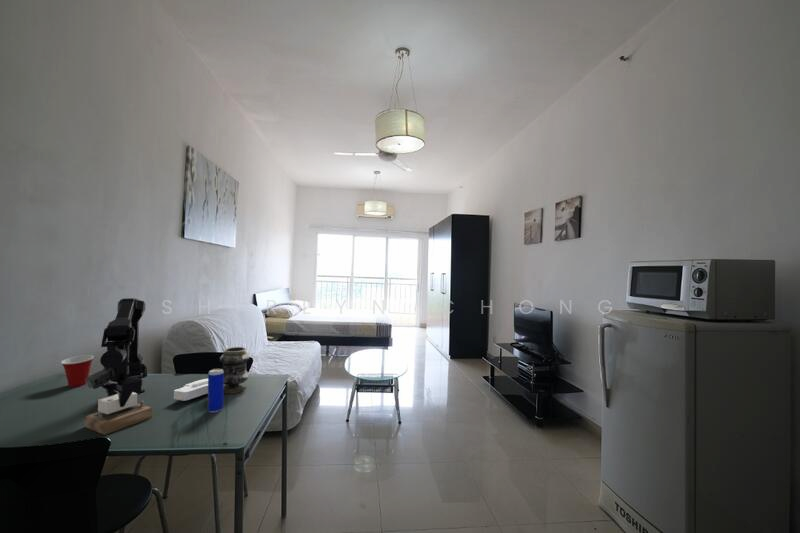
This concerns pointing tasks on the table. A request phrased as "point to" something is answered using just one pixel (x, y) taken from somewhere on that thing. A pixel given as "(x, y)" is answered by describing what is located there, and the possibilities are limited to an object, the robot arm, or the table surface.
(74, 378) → the plastic cup
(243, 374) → the apothecary jar
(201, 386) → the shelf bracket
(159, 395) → the table surface
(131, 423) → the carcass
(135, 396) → the white block
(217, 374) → the beverage can
